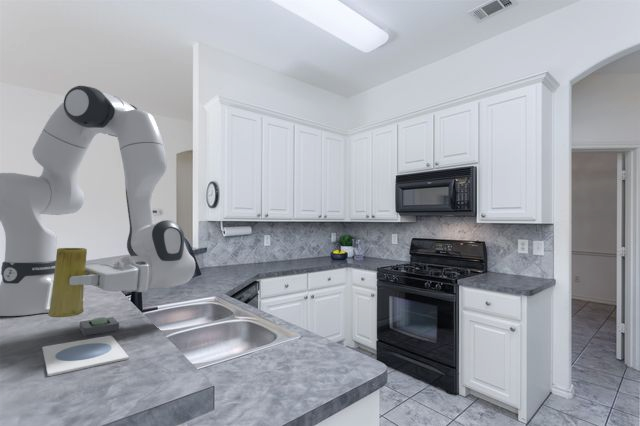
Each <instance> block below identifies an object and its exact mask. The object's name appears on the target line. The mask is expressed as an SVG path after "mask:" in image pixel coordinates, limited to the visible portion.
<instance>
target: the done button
mask: <svg viewBox="0 0 640 426" xmlns="http://www.w3.org/2000/svg"><path fill="white" fill-rule="evenodd" d="M108 318H109V317H105V316H104V317H102V316H101V317H94V318H92V319H91V320H92V325H91V326H93V325H100V324H107V320H108Z"/></svg>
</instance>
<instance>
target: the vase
mask: <svg viewBox="0 0 640 426" xmlns="http://www.w3.org/2000/svg"><path fill="white" fill-rule="evenodd" d="M87 252H88V251H87V248H83V247H60V248H59V247H58V248H56V257H55V260H56V264H55V273H54V280H53V288H52V296H51V302H50V309H49V313H48V314H47V315H48V317H51V318H67V317H74V316H78V315H81V314H83V313H84V311H85V310H84V301H83V298H84V288H85V287H84V285H70V284H68V277H69V276H76V275H79V276H83V275H85V265H86V264H87V254H88V253H87Z"/></svg>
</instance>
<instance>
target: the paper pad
mask: <svg viewBox="0 0 640 426" xmlns="http://www.w3.org/2000/svg"><path fill="white" fill-rule="evenodd" d="M41 350H42V354H43V360H44V364H45V370H46V375H47V377H52V376H56V375H60V374H66V373H70V372H75V371H79V370H86V369H88V368H89V369H90V368H93V367H94V368H95V367H97V366H99V367H100V366H103V365H107V364H112V363H113V364H114V363H116V362H121V361H126V360H129V359H130V356H129V355H128V353H126V351H125V350H124V349H123V348H122V347H121V345H120V344H119V342H118V341H117V340H116V339H115V338H114V337H113V335H105V336H100V337H94V338H89V339H88V338H87V339H82V340H81V339H80V340H75V341H71V342H63V343H58V344H51V345H45V346H42V349H41Z"/></svg>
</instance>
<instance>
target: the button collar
mask: <svg viewBox="0 0 640 426" xmlns="http://www.w3.org/2000/svg"><path fill="white" fill-rule="evenodd" d="M107 318H108V320H107V324H100V325H93V326H91V325H92V319H90V320H82V321H79V330H80V331H81V334H82V335H83V336H88V335H95V334H101V333H107V332H115V331H119V330H120V322H119V321H117V319H115V318H114V317H113V316H112V317H107Z"/></svg>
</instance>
